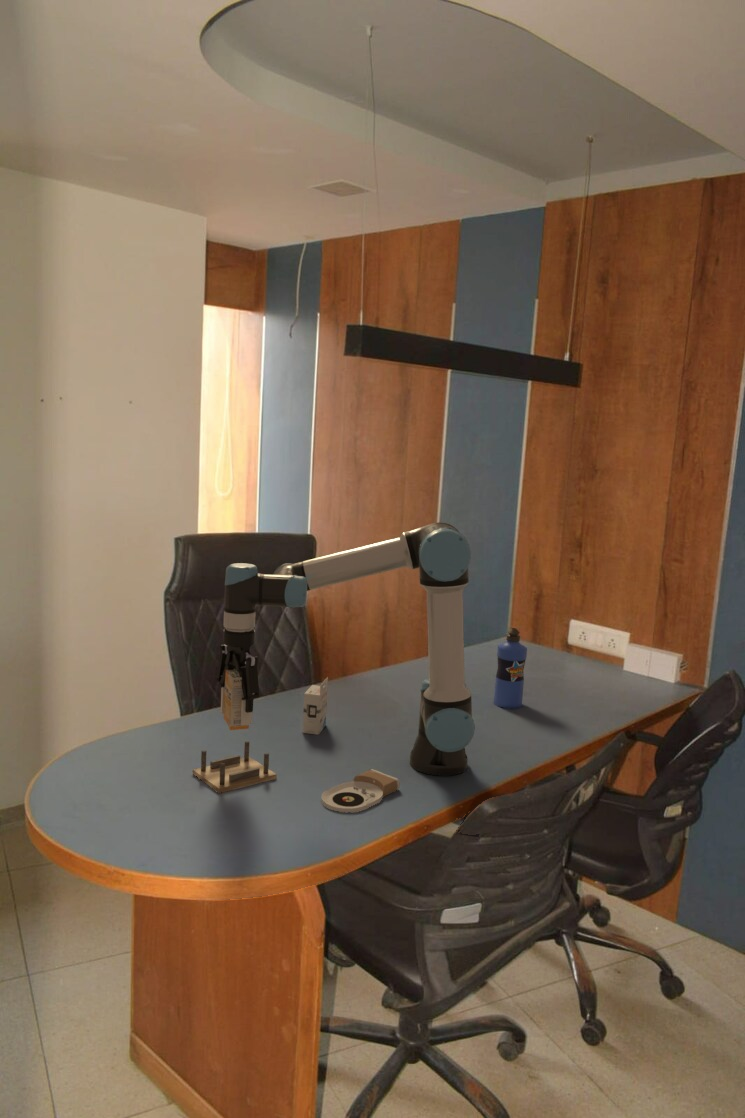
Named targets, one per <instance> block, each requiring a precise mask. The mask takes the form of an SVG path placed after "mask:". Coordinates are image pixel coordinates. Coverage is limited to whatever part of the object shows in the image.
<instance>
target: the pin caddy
mask: <svg viewBox="0 0 745 1118" xmlns="http://www.w3.org/2000/svg"><path fill="white" fill-rule="evenodd" d="M243 749H244V753H243V754H244V755H243V756H244V757H242V758H241V755H240V754H237V755H233V756H228V757H224V758H220V759H214V760H210V765H207V750H201V755H200V756H201V757H200V761H201V762H200V767H198V768H195V769H192V775H193V774H194V775H195V777H196V776H197V777H198V778H197V777H196V778H197V779H198V780H200V779H201V780H202V781H201V780H200V781H201V782H203V781H204V782H205V783H206V784H205V783H204V782H203V783H204V784H205V785H207V784H208V785H209V786H210V789H212V788H213V789H212V790H213V791H215V790H216V791H217V792H216V791H215V792H216V793H218V794H222V793H226V792H229V791H233V790H238V789H242V788H245V787H249V786H254V785H257V784H262V783H265V782H269V781H273V780H277V773H275V771H272V770H271V769H269V764H270V763H269V761H270V753H269V752H264V754H263V764H261V763H260V762H258V761H257V760H255V759H254V758H252V757H251V756H250V741H249V740H245V741H244V748H243ZM194 775H193V776H194ZM208 785H207V786H208ZM209 786H208V787H209ZM221 792H222V793H221Z"/></svg>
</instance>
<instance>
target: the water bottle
mask: <svg viewBox="0 0 745 1118" xmlns="http://www.w3.org/2000/svg"><path fill="white" fill-rule="evenodd" d="M507 633H508V634H506V637H505V639H506V641H505V642H502V643H499V644H497V648H496V649H497V652H496V653H497V654H496V656H497V670H496V674H495V680H494V681H495V682H494V693H493V694H494V695H493V705H495V706H496V705H497V706H496V707H498V706H499V707H498V708H501V707H503V708H502V709H507V708H510V709H509V710H513V709H514V708H516V709H519V708H522V706H523V696H524V687H525V686H524V684H525V678H524V677H525V676H524V675H525V674H524V669H525V664H526V659H527V656H528V647H526V646H525V645H524V644H521V642H520V641H521V635H520V633H521V632H520V630H518V629H517V628H514V627H511V628H510V629H509V630H508V631H507ZM512 708H513V709H512ZM514 710H515V709H514Z"/></svg>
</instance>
